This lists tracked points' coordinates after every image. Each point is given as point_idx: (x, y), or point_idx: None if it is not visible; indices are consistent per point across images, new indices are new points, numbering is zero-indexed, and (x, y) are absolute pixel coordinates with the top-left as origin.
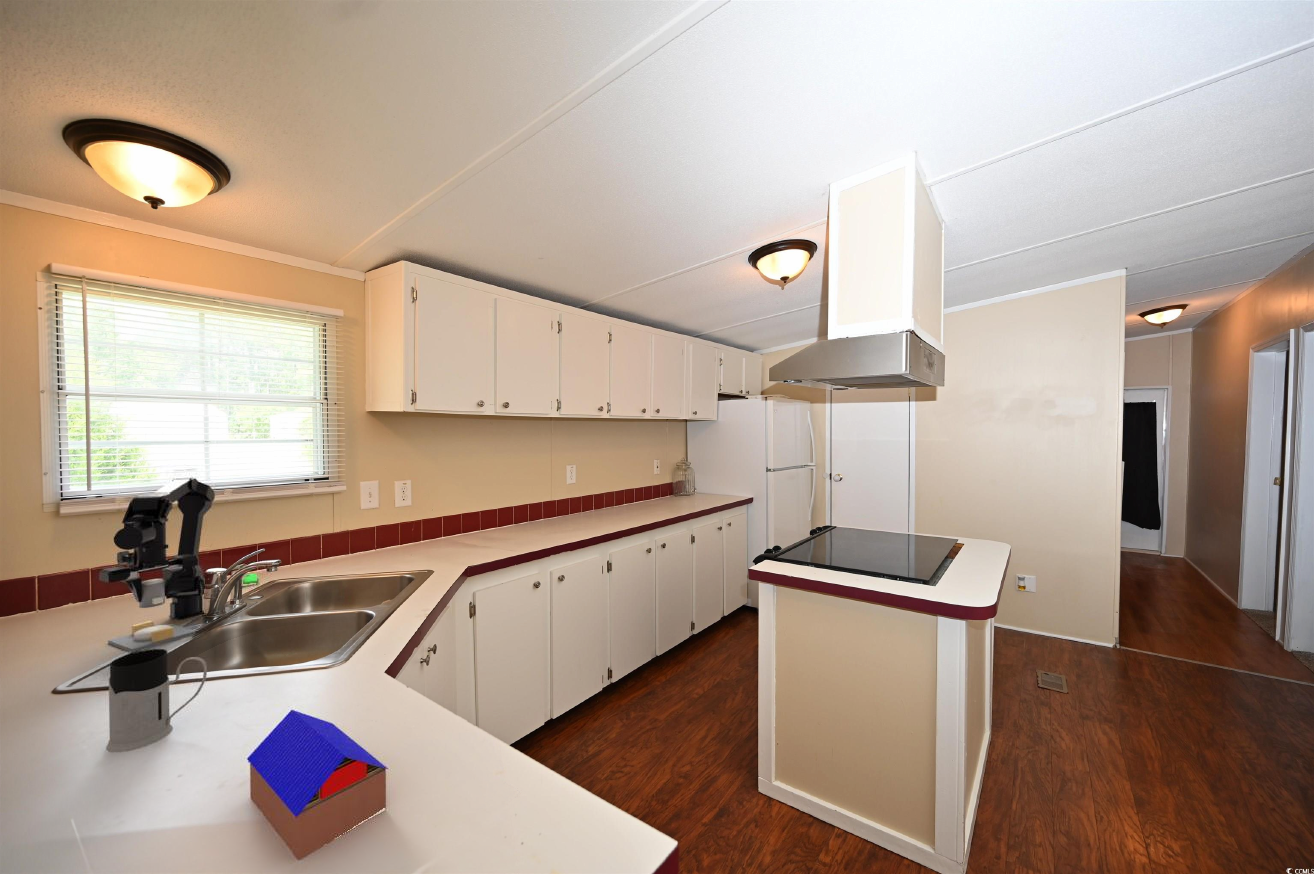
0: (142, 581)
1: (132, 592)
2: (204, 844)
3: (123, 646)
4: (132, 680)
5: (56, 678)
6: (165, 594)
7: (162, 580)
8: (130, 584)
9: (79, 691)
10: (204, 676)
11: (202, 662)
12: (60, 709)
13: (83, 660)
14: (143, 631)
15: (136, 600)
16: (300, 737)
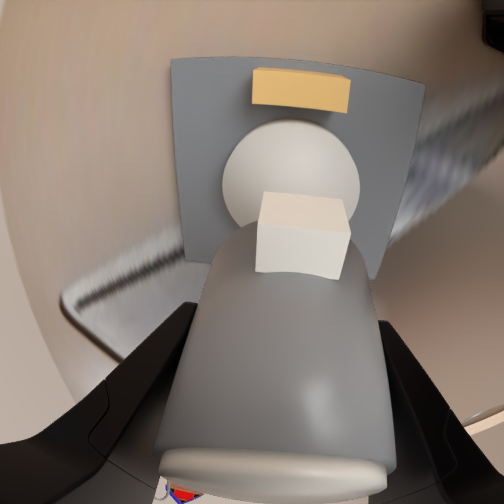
0: (201, 471)
1: (121, 370)
2: None
3: (179, 198)
4: None
5: (53, 253)
6: None
7: (327, 502)
8: (75, 448)
9: (91, 340)
10: (168, 487)
11: (164, 497)
12: (80, 361)
13: (91, 178)
14: (261, 172)
15: (177, 309)
16: (177, 500)
